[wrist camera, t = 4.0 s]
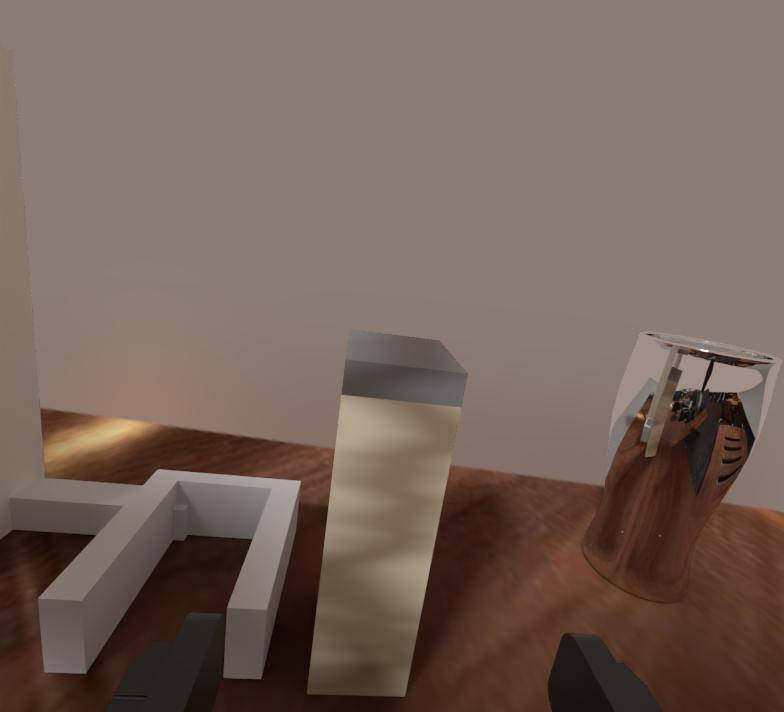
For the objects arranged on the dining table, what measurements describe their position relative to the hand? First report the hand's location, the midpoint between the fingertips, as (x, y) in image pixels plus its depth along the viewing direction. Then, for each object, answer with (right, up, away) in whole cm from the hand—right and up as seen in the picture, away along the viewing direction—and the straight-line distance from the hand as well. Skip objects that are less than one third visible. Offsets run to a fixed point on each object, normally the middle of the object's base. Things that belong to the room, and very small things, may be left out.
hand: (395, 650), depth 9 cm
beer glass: (+16, -7, +17) cm, 24 cm away
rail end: (-2, -6, +9) cm, 11 cm away
